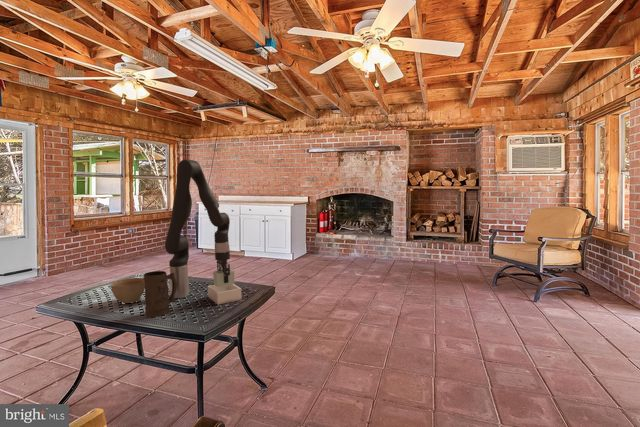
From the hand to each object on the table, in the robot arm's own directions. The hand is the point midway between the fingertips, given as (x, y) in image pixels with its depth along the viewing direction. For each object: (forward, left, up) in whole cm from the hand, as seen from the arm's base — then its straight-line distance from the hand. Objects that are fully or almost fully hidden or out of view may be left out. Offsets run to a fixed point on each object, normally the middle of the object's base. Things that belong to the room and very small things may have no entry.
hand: (224, 281), depth 186 cm
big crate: (0, 0, -9) cm, 9 cm away
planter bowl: (-42, +27, -9) cm, 51 cm away
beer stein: (-31, 0, -9) cm, 32 cm away
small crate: (0, 0, -1) cm, 1 cm away
